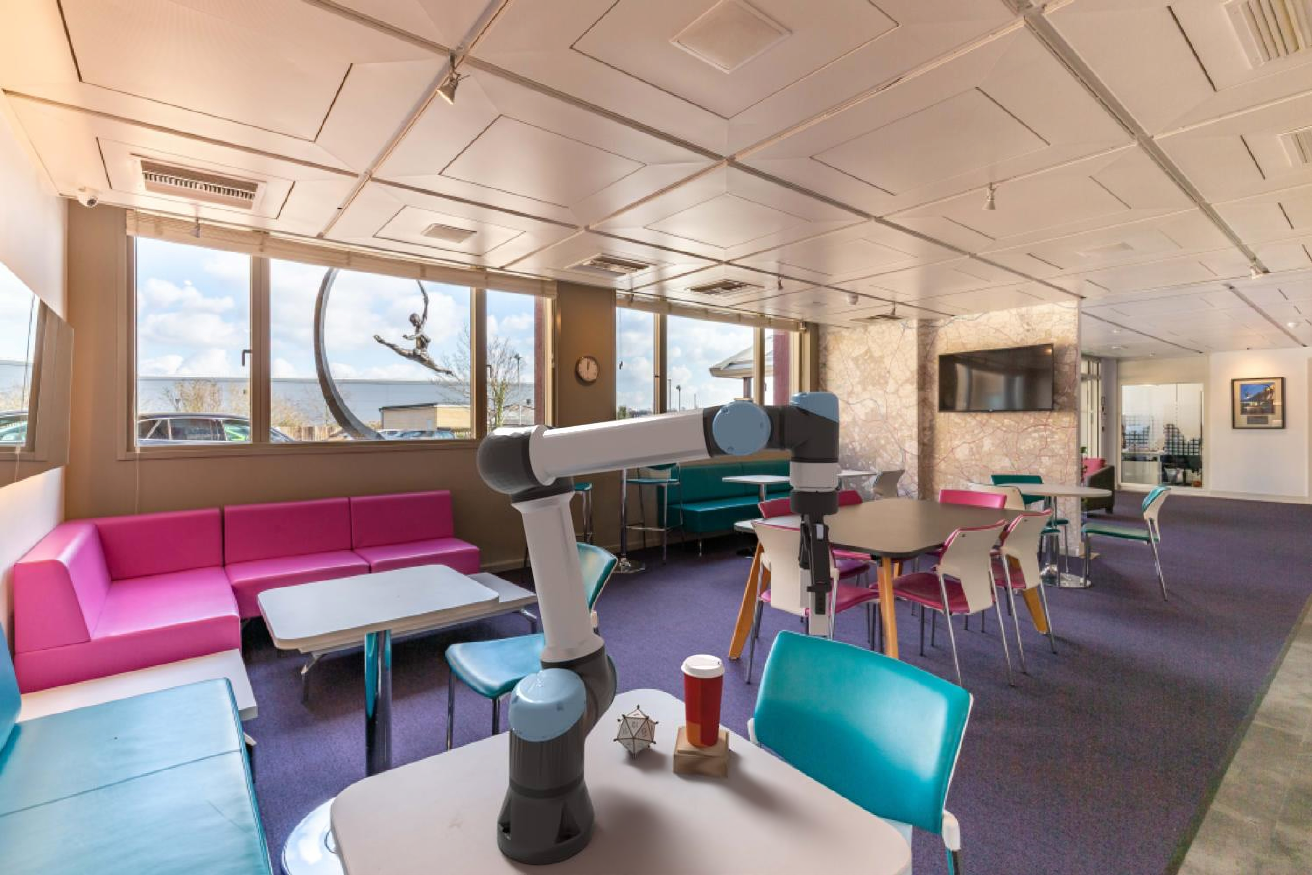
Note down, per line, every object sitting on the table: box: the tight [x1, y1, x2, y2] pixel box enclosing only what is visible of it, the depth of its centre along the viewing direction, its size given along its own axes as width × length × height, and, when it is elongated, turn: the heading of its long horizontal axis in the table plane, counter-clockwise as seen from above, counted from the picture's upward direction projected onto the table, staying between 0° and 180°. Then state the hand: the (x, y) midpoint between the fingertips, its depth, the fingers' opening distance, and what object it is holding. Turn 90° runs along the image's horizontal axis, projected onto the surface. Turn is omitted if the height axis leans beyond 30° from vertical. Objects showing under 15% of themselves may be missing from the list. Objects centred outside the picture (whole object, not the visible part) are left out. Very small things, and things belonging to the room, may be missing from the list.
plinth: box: [672, 725, 730, 778], centre depth 116 cm, size 10×10×4 cm
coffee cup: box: [680, 654, 726, 747], centre depth 116 cm, size 8×8×15 cm
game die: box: [612, 703, 660, 760], centre depth 118 cm, size 9×8×10 cm
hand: (812, 620), depth 97 cm, fingers open, 13 cm apart
